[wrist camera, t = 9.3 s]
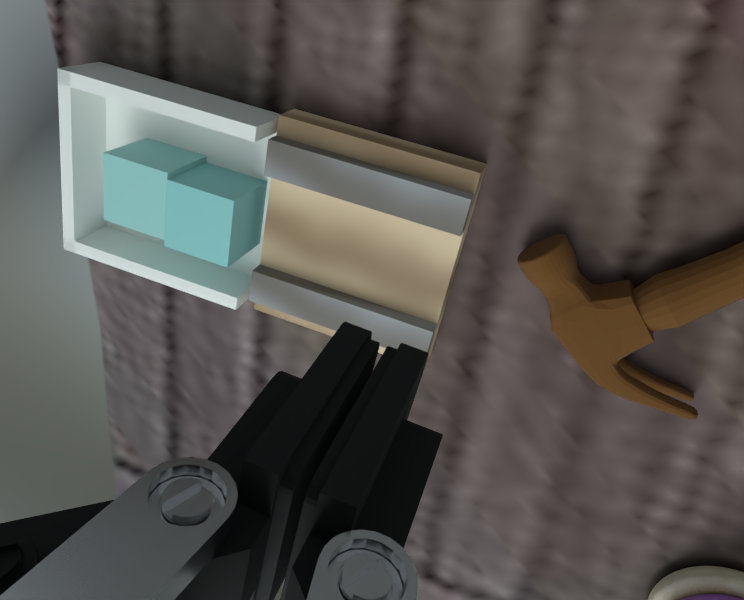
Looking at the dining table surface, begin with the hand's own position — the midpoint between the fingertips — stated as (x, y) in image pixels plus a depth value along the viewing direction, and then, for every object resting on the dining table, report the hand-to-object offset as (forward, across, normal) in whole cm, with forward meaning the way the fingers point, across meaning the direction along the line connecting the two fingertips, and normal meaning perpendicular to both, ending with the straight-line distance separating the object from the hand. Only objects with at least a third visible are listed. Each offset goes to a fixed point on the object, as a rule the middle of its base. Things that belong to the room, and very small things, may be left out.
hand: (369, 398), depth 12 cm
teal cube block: (+24, +14, +9) cm, 29 cm away
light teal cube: (+24, +18, +9) cm, 31 cm away
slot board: (+24, +6, +9) cm, 26 cm away
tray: (+24, +18, +9) cm, 31 cm away
